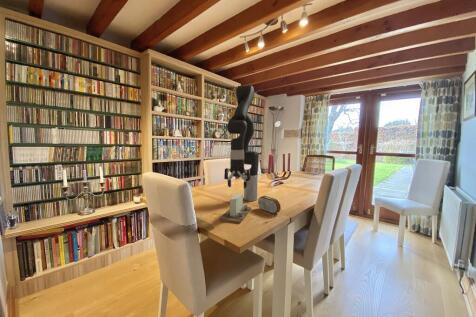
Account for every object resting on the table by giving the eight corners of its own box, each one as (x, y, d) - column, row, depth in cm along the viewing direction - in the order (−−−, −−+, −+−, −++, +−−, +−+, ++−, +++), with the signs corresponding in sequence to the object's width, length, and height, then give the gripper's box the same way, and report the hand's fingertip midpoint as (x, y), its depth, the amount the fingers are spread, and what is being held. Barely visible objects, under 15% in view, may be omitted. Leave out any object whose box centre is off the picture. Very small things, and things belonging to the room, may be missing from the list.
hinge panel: (233, 207, 124) (233, 200, 124) (251, 209, 121) (251, 202, 120) (219, 220, 104) (219, 212, 103) (240, 223, 100) (240, 215, 100)
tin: (280, 214, 113) (281, 199, 112) (277, 216, 111) (277, 200, 110) (260, 207, 124) (260, 194, 123) (257, 208, 122) (257, 195, 121)
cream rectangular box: (229, 215, 107) (229, 199, 106) (237, 208, 118) (237, 193, 117) (236, 216, 106) (236, 199, 105) (242, 209, 117) (242, 193, 116)
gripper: (222, 158, 108) (222, 188, 109) (248, 159, 103) (248, 190, 105) (227, 156, 115) (227, 185, 117) (251, 157, 110) (251, 186, 112)
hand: (237, 187), depth 111 cm, fingers open, 8 cm apart
